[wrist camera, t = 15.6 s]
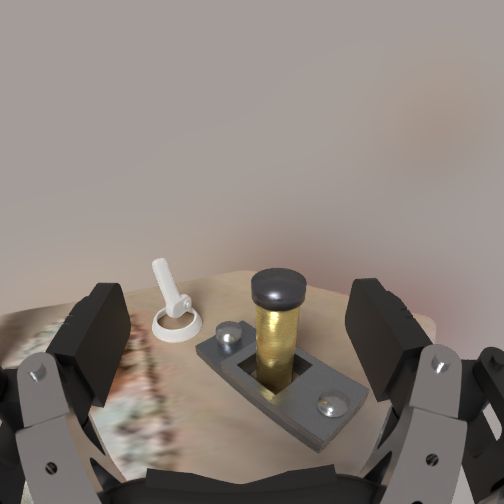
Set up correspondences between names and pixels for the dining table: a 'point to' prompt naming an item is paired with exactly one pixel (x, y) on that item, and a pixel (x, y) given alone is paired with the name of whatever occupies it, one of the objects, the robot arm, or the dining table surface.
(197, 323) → the white vr controller
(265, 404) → the grey plate with studs
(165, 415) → the dining table surface
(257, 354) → the pin
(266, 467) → the dining table surface
